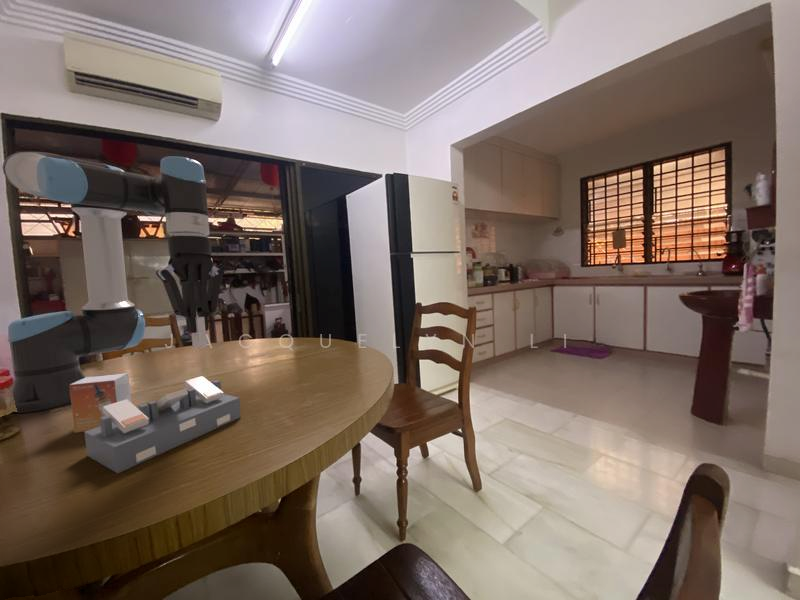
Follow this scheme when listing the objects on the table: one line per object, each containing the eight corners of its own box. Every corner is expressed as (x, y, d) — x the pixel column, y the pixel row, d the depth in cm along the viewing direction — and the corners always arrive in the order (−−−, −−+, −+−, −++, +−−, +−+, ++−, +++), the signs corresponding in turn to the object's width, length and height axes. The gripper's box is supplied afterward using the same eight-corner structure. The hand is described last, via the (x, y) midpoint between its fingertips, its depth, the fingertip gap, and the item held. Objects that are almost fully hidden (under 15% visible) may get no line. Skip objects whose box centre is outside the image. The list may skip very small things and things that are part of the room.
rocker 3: (184, 385, 70) (185, 380, 70) (201, 380, 73) (202, 375, 73) (206, 403, 67) (206, 397, 67) (222, 397, 70) (223, 391, 70)
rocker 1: (102, 412, 58) (102, 405, 58) (127, 404, 61) (127, 398, 61) (124, 433, 55) (124, 426, 54) (148, 424, 58) (148, 417, 57)
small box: (73, 434, 66) (67, 384, 65) (91, 422, 72) (85, 376, 71) (119, 427, 68) (114, 379, 67) (133, 416, 74) (128, 372, 73)
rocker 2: (151, 413, 64) (149, 407, 64) (171, 406, 67) (169, 400, 67) (168, 400, 60) (165, 393, 61) (188, 393, 64) (185, 387, 64)
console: (87, 455, 58) (81, 414, 57) (208, 408, 77) (205, 376, 76) (118, 473, 52) (112, 427, 51) (241, 417, 71) (238, 383, 70)
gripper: (163, 231, 60) (176, 355, 62) (229, 237, 71) (238, 341, 73) (143, 235, 63) (156, 352, 65) (209, 239, 74) (218, 339, 77)
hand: (199, 346), depth 69 cm, fingers closed
